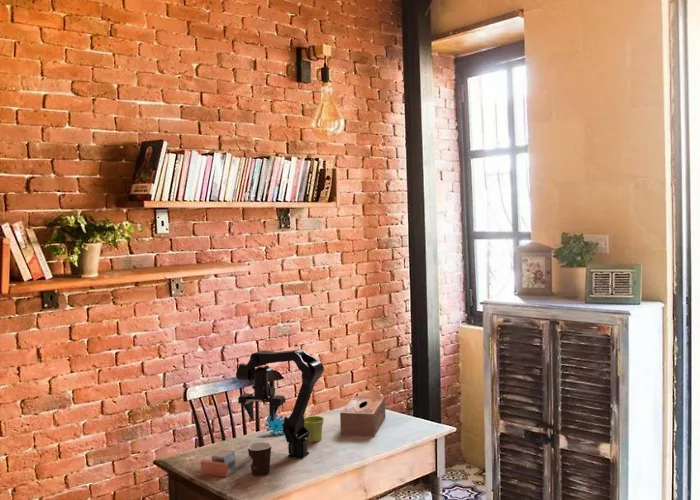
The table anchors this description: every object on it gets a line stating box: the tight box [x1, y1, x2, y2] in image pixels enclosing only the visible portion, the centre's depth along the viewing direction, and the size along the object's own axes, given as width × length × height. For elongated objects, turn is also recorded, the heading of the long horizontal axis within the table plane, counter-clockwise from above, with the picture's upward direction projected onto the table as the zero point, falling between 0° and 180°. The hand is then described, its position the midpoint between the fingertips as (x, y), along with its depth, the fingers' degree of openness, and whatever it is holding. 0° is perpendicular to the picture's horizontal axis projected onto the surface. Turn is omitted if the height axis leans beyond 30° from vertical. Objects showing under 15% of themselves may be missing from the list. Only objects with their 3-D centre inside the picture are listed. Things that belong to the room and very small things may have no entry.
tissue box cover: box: [339, 395, 386, 438], centre depth 290 cm, size 26×14×10 cm, turn 166°
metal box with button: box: [211, 448, 236, 469], centre depth 247 cm, size 6×8×6 cm
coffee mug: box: [247, 441, 272, 477], centre depth 240 cm, size 12×9×10 cm
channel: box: [200, 455, 250, 478], centre depth 249 cm, size 11×18×4 cm, turn 157°
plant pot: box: [304, 415, 325, 443], centre depth 275 cm, size 9×9×9 cm
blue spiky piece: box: [264, 413, 284, 437], centre depth 286 cm, size 11×6×10 cm
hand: (262, 420), depth 265 cm, fingers open, 9 cm apart
